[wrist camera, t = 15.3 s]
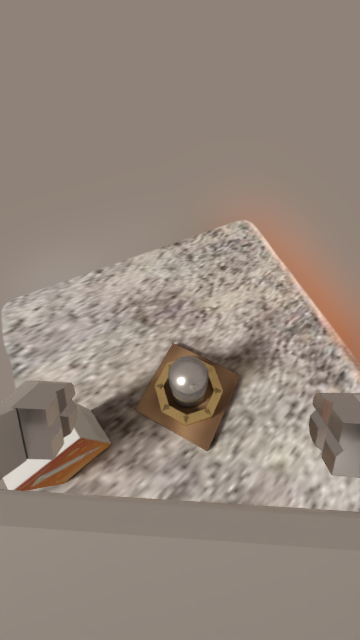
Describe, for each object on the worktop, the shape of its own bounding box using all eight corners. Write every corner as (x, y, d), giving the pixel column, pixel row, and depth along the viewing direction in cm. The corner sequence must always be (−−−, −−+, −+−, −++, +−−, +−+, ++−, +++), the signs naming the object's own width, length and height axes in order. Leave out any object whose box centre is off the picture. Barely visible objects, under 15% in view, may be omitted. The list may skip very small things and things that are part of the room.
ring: (228, 379, 42) (230, 374, 40) (202, 436, 38) (203, 434, 36) (176, 353, 44) (175, 348, 42) (147, 405, 40) (145, 402, 38)
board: (239, 377, 43) (240, 375, 42) (207, 451, 38) (207, 451, 37) (173, 345, 46) (172, 343, 45) (136, 410, 41) (134, 409, 40)
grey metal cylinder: (210, 384, 42) (215, 365, 33) (196, 414, 40) (197, 402, 31) (182, 370, 43) (179, 347, 34) (166, 398, 41) (160, 382, 32)
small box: (64, 484, 37) (7, 496, 26) (44, 445, 40) (-17, 440, 28) (113, 443, 39) (81, 437, 28) (91, 409, 42) (53, 390, 30)
